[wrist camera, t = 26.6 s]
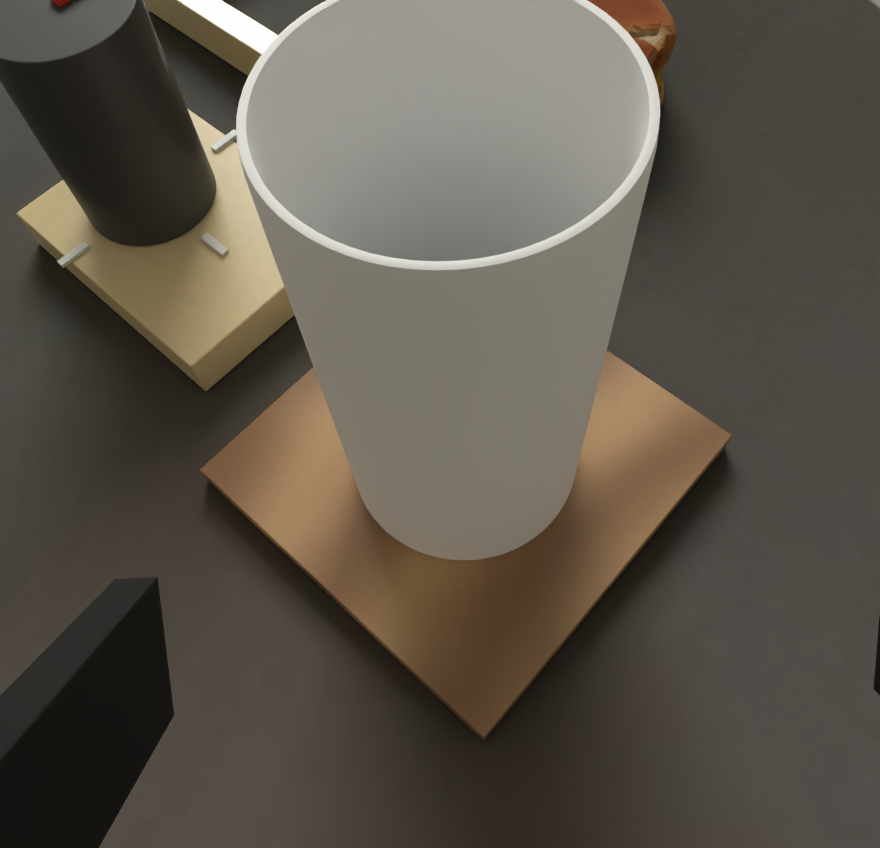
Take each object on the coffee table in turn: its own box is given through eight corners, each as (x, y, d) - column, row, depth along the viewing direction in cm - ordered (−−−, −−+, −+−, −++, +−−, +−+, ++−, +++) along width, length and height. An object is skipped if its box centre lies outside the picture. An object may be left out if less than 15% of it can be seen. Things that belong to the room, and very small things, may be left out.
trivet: (726, 447, 30) (733, 435, 29) (483, 741, 26) (483, 738, 25) (450, 257, 35) (449, 242, 34) (206, 480, 31) (198, 469, 30)
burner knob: (143, 268, 33) (29, 79, 25) (62, 203, 35) (-69, 7, 27) (243, 188, 35) (168, -14, 27) (160, 130, 37) (66, -75, 28)
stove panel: (368, 251, 35) (361, 218, 34) (198, 399, 32) (180, 371, 31) (183, 119, 40) (168, 83, 38) (19, 238, 37) (-7, 205, 35)
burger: (482, 20, 42) (482, -68, 38) (663, 30, 41) (684, -60, 37) (458, 160, 38) (456, 77, 34) (660, 174, 37) (683, 91, 33)
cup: (614, 415, 30) (729, 37, 16) (509, 604, 27) (537, 345, 13) (426, 327, 32) (380, -74, 18) (310, 492, 29) (145, 166, 15)
